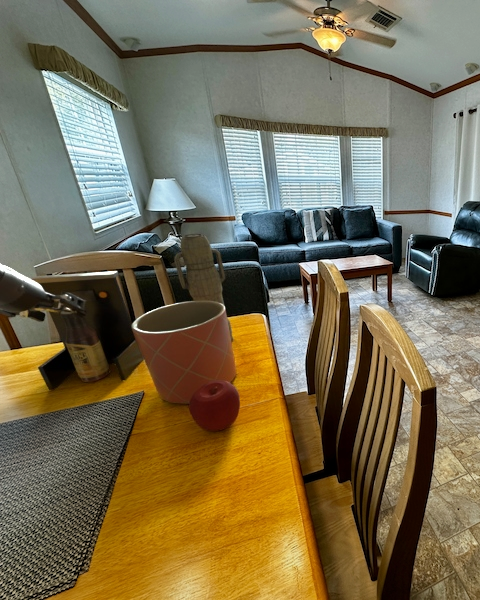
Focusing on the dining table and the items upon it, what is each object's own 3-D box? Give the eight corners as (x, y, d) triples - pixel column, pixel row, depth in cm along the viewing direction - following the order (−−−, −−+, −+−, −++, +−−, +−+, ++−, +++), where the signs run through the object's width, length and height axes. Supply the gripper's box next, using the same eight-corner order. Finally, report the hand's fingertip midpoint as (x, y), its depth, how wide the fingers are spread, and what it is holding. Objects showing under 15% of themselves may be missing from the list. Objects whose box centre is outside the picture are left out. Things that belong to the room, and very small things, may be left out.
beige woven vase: (243, 339, 109) (221, 233, 95) (205, 353, 100) (175, 240, 87) (231, 331, 114) (208, 230, 101) (194, 344, 105) (164, 236, 92)
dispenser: (76, 366, 94) (36, 276, 84) (147, 357, 98) (117, 271, 88) (46, 390, 84) (-4, 291, 73) (127, 380, 88) (91, 284, 78)
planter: (196, 416, 75) (172, 339, 67) (137, 398, 81) (110, 326, 73) (255, 370, 92) (242, 305, 84) (203, 359, 97) (186, 296, 90)
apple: (193, 446, 67) (180, 407, 63) (200, 415, 75) (189, 379, 71) (243, 433, 70) (234, 395, 66) (245, 405, 78) (237, 370, 74)
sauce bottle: (75, 381, 87) (44, 314, 80) (100, 368, 93) (73, 304, 85) (93, 385, 86) (64, 316, 78) (118, 371, 91) (92, 306, 84)
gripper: (49, 268, 68) (100, 299, 83) (-37, 273, 65) (32, 304, 80) (41, 301, 66) (95, 327, 80) (-49, 308, 62) (24, 334, 77)
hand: (64, 316), depth 80 cm, fingers open, 8 cm apart
